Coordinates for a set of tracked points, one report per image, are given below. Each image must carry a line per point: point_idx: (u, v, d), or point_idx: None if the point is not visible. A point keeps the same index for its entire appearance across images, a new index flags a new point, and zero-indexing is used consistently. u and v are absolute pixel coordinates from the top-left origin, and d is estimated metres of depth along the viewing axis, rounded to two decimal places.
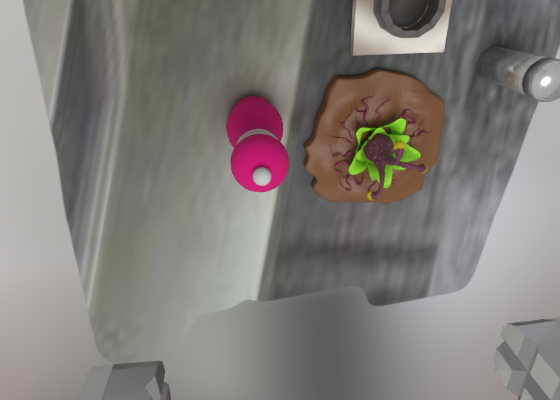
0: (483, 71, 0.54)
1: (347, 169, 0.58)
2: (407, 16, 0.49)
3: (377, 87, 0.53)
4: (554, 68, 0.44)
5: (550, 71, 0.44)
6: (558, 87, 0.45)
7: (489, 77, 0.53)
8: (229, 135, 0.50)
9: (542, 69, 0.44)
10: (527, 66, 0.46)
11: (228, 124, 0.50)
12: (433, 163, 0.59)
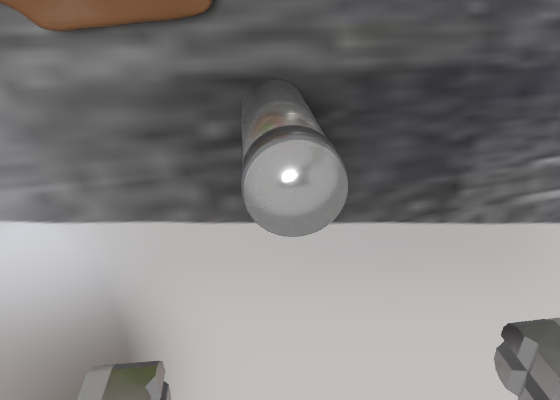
0: (263, 87, 0.25)
1: None
2: None
3: None
4: (331, 182, 0.17)
5: (324, 175, 0.17)
6: (282, 210, 0.17)
7: (256, 95, 0.24)
8: None
9: (329, 152, 0.16)
10: (317, 131, 0.18)
11: None
12: (36, 18, 0.22)
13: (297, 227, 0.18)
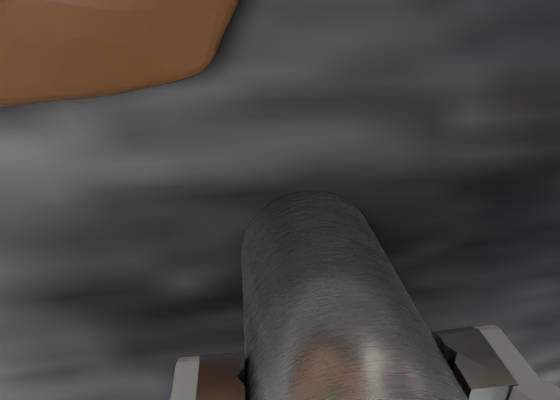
0: (292, 224, 0.11)
1: None
2: None
3: None
4: None
5: None
6: None
7: (279, 257, 0.10)
8: None
9: None
10: None
11: None
12: None
13: None
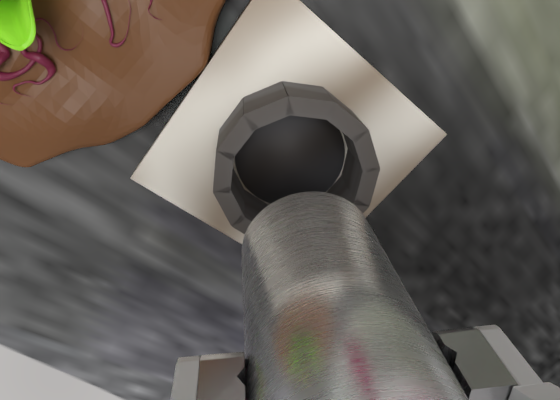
0: (293, 224, 0.11)
1: None
2: (259, 147, 0.21)
3: (164, 35, 0.18)
4: None
5: None
6: None
7: (280, 258, 0.10)
8: None
9: None
10: None
11: None
12: None
13: None
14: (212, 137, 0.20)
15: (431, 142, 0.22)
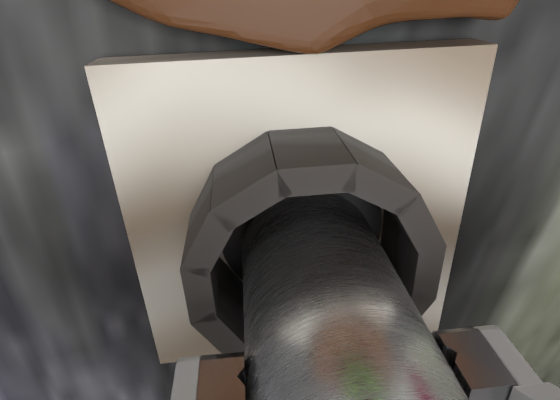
0: (293, 224, 0.11)
1: None
2: None
3: None
4: None
5: None
6: None
7: (280, 258, 0.10)
8: None
9: None
10: None
11: None
12: None
13: None
14: (249, 130, 0.12)
15: None
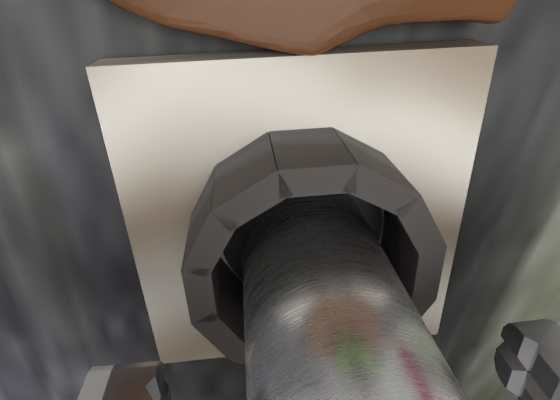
0: (289, 209, 0.12)
1: None
2: None
3: None
4: None
5: None
6: None
7: (276, 239, 0.11)
8: None
9: None
10: None
11: None
12: None
13: None
14: (250, 131, 0.12)
15: None
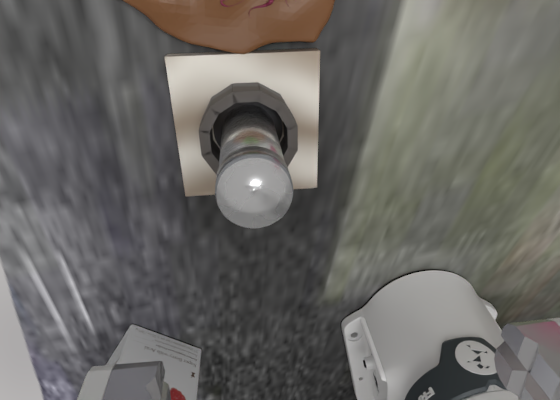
0: (239, 111, 0.31)
1: None
2: None
3: (243, 24, 0.30)
4: (279, 188, 0.23)
5: (274, 183, 0.23)
6: (244, 208, 0.24)
7: (233, 119, 0.30)
8: None
9: (277, 167, 0.23)
10: (272, 150, 0.25)
11: None
12: None
13: (256, 221, 0.24)
14: (225, 83, 0.32)
15: (308, 184, 0.37)
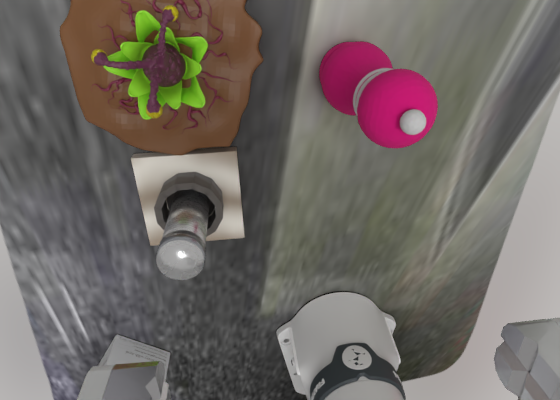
0: (182, 193, 0.46)
1: (201, 26, 0.39)
2: None
3: (179, 138, 0.45)
4: (195, 257, 0.38)
5: (191, 254, 0.38)
6: (174, 268, 0.39)
7: (176, 200, 0.45)
8: None
9: (192, 245, 0.38)
10: (193, 231, 0.40)
11: None
12: (64, 28, 0.39)
13: (183, 275, 0.39)
14: (173, 173, 0.47)
15: (237, 236, 0.52)
